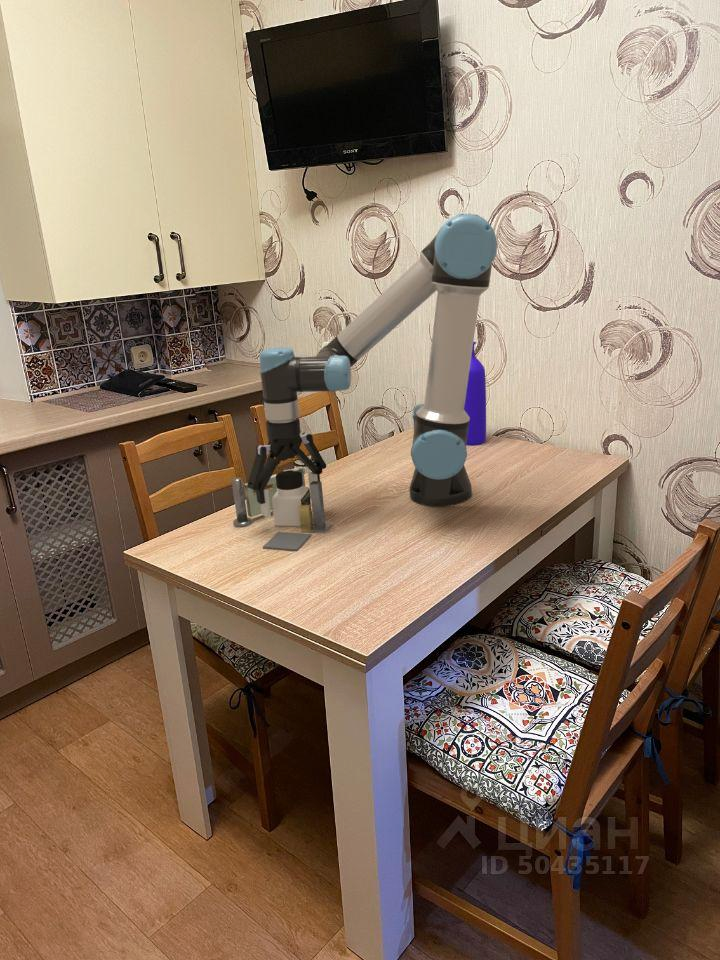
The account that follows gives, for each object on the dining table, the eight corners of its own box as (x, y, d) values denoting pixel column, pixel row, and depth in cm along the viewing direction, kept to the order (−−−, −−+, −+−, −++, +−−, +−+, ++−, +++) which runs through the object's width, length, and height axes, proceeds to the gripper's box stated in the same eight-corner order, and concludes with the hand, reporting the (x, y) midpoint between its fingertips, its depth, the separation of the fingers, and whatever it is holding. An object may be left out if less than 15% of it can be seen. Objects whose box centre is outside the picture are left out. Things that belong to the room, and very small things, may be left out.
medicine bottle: (304, 526, 161) (299, 477, 157) (274, 526, 163) (268, 477, 159) (312, 514, 168) (307, 466, 164) (283, 514, 169) (278, 467, 165)
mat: (311, 535, 156) (311, 534, 156) (297, 551, 149) (296, 549, 149) (278, 533, 159) (278, 531, 159) (262, 548, 152) (262, 546, 152)
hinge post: (255, 520, 167) (249, 476, 163) (247, 527, 163) (240, 482, 159) (238, 518, 168) (232, 475, 165) (230, 526, 165) (223, 481, 161)
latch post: (332, 525, 161) (328, 479, 157) (325, 533, 157) (321, 486, 153) (308, 523, 163) (304, 478, 159) (301, 531, 159) (296, 485, 155)
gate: (251, 517, 166) (247, 485, 163) (248, 515, 167) (243, 484, 164) (306, 498, 175) (303, 467, 173) (303, 497, 176) (300, 466, 174)
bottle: (458, 446, 210) (455, 345, 200) (459, 438, 218) (456, 340, 208) (486, 445, 209) (485, 343, 199) (486, 437, 217) (485, 339, 207)
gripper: (317, 405, 167) (324, 489, 174) (224, 427, 152) (236, 518, 160) (337, 410, 161) (343, 496, 169) (242, 434, 147) (253, 527, 154)
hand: (291, 507), depth 164 cm, fingers open, 13 cm apart
